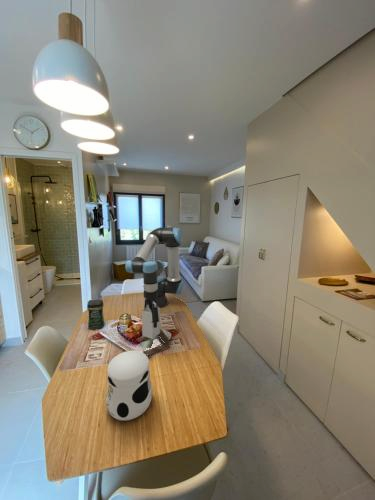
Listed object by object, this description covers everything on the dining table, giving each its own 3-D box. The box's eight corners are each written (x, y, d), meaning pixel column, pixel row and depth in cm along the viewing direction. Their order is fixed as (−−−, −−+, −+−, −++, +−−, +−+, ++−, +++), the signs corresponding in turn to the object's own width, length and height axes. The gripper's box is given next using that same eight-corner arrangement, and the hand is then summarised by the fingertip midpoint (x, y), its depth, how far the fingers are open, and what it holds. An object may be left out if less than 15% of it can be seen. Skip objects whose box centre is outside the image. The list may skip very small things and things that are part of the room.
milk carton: (142, 335, 114) (141, 303, 111) (150, 329, 120) (149, 299, 117) (152, 339, 111) (152, 306, 107) (160, 333, 117) (159, 301, 114)
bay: (160, 335, 127) (159, 327, 126) (169, 347, 115) (169, 339, 114) (136, 342, 119) (135, 334, 118) (143, 356, 107) (143, 348, 106)
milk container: (99, 403, 81) (96, 362, 78) (138, 379, 93) (136, 343, 90) (120, 437, 69) (117, 391, 65) (161, 404, 81) (160, 364, 77)
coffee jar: (87, 330, 130) (85, 303, 127) (90, 324, 138) (88, 298, 134) (103, 329, 132) (101, 302, 129) (105, 322, 140) (104, 297, 137)
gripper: (137, 284, 118) (138, 320, 122) (151, 298, 99) (151, 340, 103) (150, 282, 122) (150, 317, 126) (165, 295, 103) (165, 335, 107)
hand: (151, 327), depth 115 cm, fingers closed on milk carton, 10 cm apart
